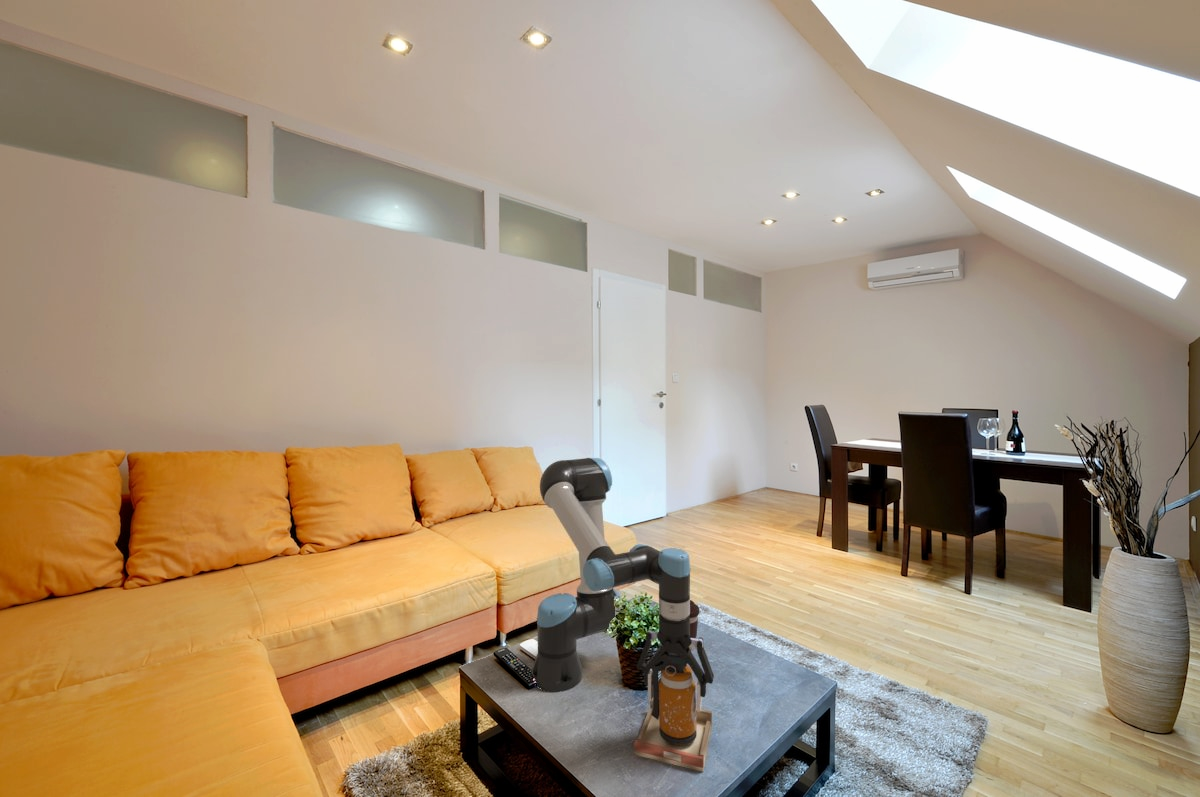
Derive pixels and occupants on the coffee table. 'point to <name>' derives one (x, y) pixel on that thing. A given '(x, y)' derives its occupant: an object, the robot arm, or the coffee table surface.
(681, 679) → the canister
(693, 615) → the coffee cup
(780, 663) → the coffee table surface
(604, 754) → the coffee table surface
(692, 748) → the wooden serving tray
